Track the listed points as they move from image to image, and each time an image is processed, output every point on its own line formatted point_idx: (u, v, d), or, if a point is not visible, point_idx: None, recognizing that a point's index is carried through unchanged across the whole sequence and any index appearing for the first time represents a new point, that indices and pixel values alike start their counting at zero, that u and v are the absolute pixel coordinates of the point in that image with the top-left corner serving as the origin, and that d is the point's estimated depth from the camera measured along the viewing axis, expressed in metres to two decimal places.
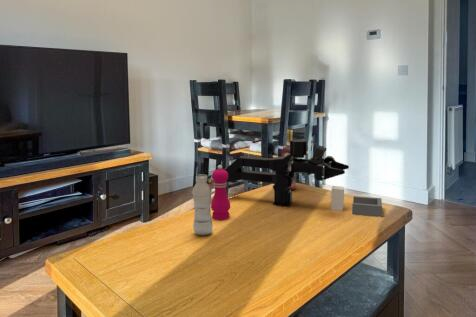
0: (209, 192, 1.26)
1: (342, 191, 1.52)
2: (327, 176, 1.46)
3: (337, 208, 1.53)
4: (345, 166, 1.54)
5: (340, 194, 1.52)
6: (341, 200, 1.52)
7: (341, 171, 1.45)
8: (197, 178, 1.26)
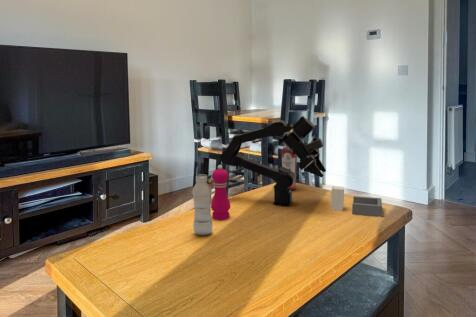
0: (209, 192, 1.26)
1: (342, 191, 1.52)
2: (307, 169, 1.50)
3: (337, 208, 1.53)
4: (323, 169, 1.59)
5: (340, 194, 1.52)
6: (341, 200, 1.52)
7: (320, 174, 1.50)
8: (197, 178, 1.26)
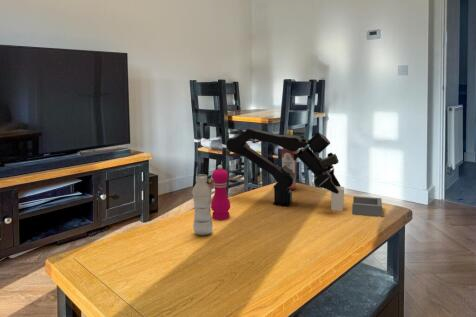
0: (209, 192, 1.26)
1: (342, 191, 1.52)
2: (323, 185, 1.49)
3: (337, 208, 1.53)
4: (338, 184, 1.58)
5: (340, 194, 1.52)
6: (341, 200, 1.52)
7: (336, 191, 1.49)
8: (197, 178, 1.26)
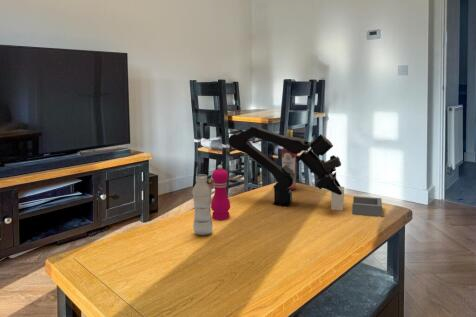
0: (209, 192, 1.26)
1: (342, 191, 1.52)
2: (326, 187, 1.51)
3: (337, 208, 1.53)
4: None
5: None
6: (341, 200, 1.52)
7: (339, 192, 1.51)
8: (197, 178, 1.26)
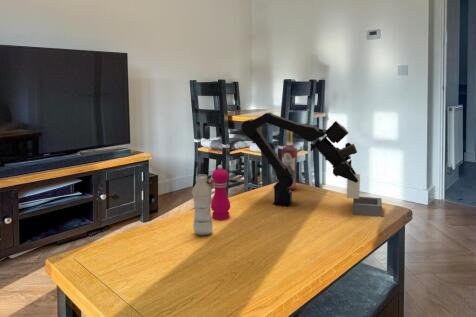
0: (209, 192, 1.26)
1: (358, 178, 1.49)
2: (342, 174, 1.48)
3: (353, 196, 1.51)
4: None
5: None
6: (357, 188, 1.50)
7: (355, 179, 1.49)
8: (197, 178, 1.26)
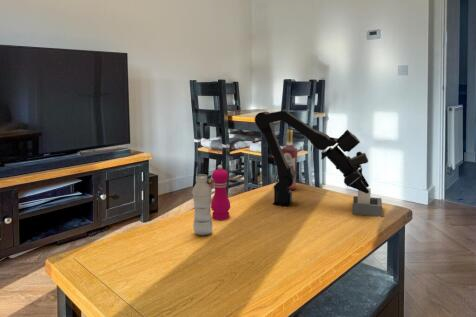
0: (209, 192, 1.26)
1: (369, 193, 1.49)
2: (353, 185, 1.46)
3: None
4: (366, 184, 1.55)
5: (367, 196, 1.49)
6: (368, 202, 1.49)
7: (366, 190, 1.46)
8: (197, 178, 1.26)
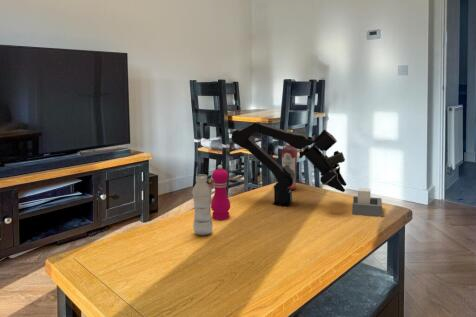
0: (209, 192, 1.26)
1: (369, 193, 1.49)
2: (329, 184, 1.48)
3: None
4: (343, 182, 1.58)
5: (367, 196, 1.49)
6: (368, 202, 1.49)
7: (342, 189, 1.49)
8: (197, 178, 1.26)
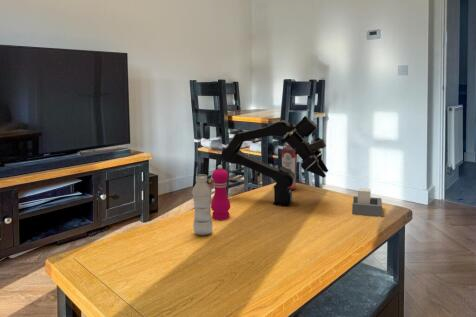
0: (209, 192, 1.26)
1: (369, 193, 1.49)
2: (310, 169, 1.50)
3: None
4: (325, 169, 1.59)
5: (367, 196, 1.49)
6: (368, 202, 1.49)
7: (323, 174, 1.50)
8: (197, 178, 1.26)
